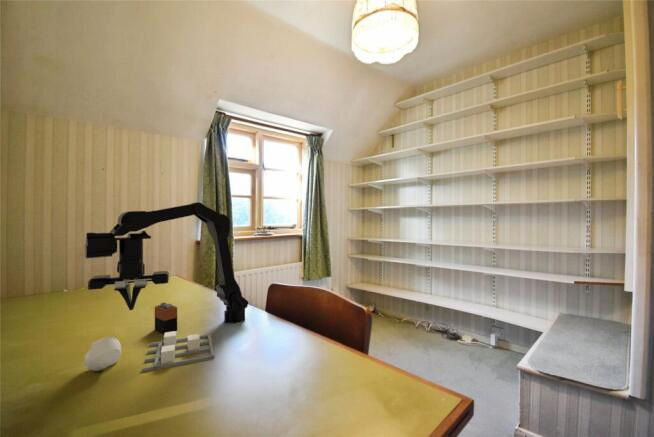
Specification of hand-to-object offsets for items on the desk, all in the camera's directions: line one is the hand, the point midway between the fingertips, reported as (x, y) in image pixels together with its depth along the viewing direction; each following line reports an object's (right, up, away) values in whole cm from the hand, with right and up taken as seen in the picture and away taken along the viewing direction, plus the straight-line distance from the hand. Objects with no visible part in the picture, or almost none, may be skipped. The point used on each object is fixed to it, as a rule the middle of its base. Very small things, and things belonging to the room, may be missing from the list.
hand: (131, 309), depth 85 cm
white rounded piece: (-1, -12, -9) cm, 16 cm away
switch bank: (+15, -12, -3) cm, 19 cm away
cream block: (+15, -11, -8) cm, 20 cm away
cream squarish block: (+11, -11, +1) cm, 15 cm away
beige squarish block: (+18, -11, -1) cm, 21 cm away
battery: (+3, -12, +13) cm, 18 cm away
